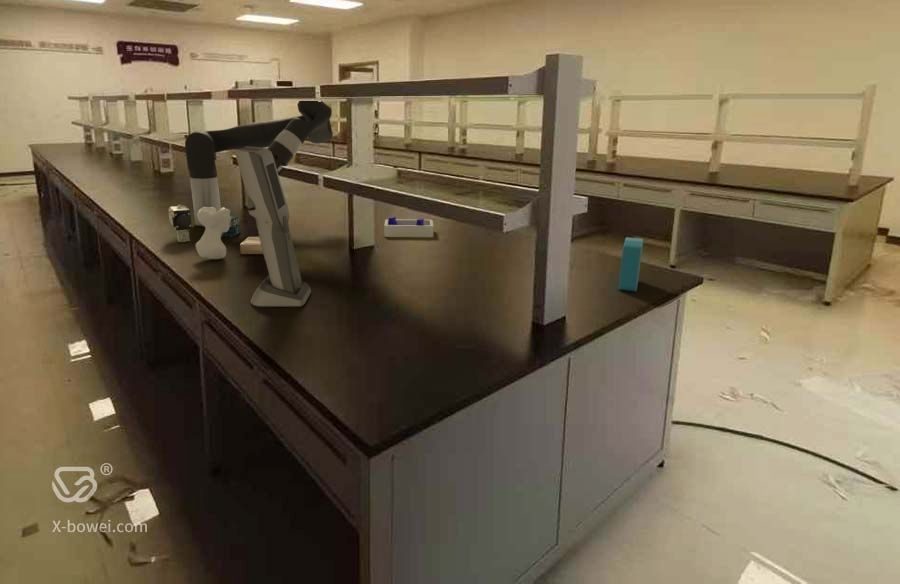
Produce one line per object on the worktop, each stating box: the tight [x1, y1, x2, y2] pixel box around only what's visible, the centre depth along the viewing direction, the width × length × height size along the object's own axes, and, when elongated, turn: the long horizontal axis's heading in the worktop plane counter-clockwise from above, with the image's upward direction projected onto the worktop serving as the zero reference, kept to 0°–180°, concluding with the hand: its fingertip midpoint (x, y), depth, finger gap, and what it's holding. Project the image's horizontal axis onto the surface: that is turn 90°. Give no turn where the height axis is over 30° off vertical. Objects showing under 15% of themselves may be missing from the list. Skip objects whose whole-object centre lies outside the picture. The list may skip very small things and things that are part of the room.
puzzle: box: [221, 215, 242, 237], centre depth 199 cm, size 6×6×6 cm
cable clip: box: [388, 215, 425, 225], centre depth 206 cm, size 12×4×6 cm, turn 76°
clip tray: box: [383, 218, 434, 238], centre depth 207 cm, size 11×17×4 cm, turn 94°
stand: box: [239, 236, 264, 255], centre depth 181 cm, size 10×10×3 cm
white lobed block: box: [195, 207, 231, 260], centre depth 168 cm, size 10×11×15 cm
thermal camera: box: [234, 146, 312, 308], centre depth 133 cm, size 12×13×35 cm
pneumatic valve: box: [168, 204, 193, 243], centre depth 188 cm, size 6×12×12 cm, turn 32°
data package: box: [618, 237, 644, 292], centre depth 152 cm, size 12×4×12 cm, turn 161°
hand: (251, 189), depth 178 cm, fingers closed on housing, 5 cm apart
